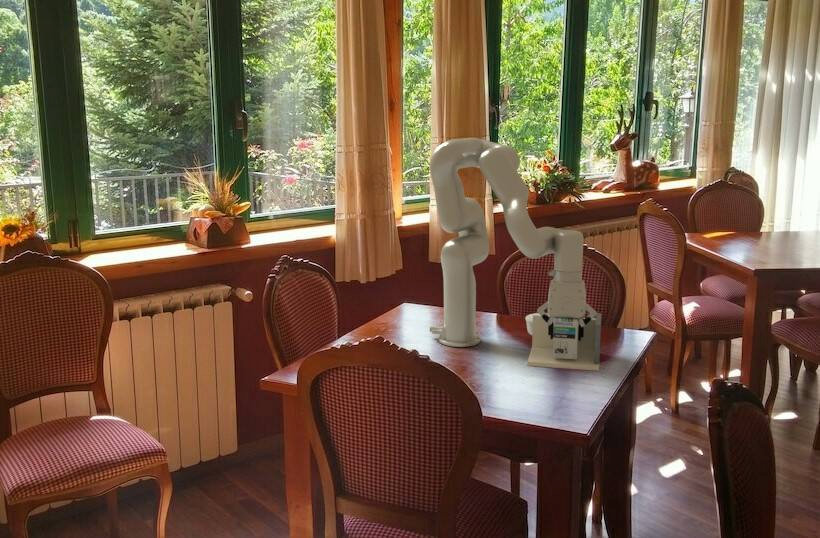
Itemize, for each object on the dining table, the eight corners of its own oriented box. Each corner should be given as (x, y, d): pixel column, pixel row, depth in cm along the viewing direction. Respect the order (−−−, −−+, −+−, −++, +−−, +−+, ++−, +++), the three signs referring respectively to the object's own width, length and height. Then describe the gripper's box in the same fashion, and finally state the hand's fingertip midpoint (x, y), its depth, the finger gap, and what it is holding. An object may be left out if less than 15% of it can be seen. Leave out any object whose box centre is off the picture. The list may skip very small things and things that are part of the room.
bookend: (593, 364, 214) (595, 324, 212) (594, 350, 226) (596, 313, 223) (599, 364, 214) (600, 325, 212) (599, 350, 225) (601, 313, 223)
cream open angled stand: (527, 365, 217) (528, 329, 215) (532, 348, 231) (533, 315, 229) (598, 370, 213) (600, 334, 211) (599, 353, 227) (601, 318, 225)
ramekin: (566, 331, 249) (567, 315, 247) (555, 341, 239) (556, 324, 238) (532, 327, 254) (532, 311, 252) (520, 336, 244) (520, 319, 243)
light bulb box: (577, 360, 215) (579, 321, 213) (552, 358, 217) (553, 320, 214) (577, 347, 226) (579, 311, 223) (553, 346, 227) (554, 310, 225)
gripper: (534, 277, 215) (532, 340, 219) (600, 280, 211) (597, 344, 215) (536, 271, 222) (535, 332, 226) (600, 274, 218) (598, 336, 222)
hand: (565, 338), depth 220 cm, fingers closed on light bulb box, 6 cm apart
